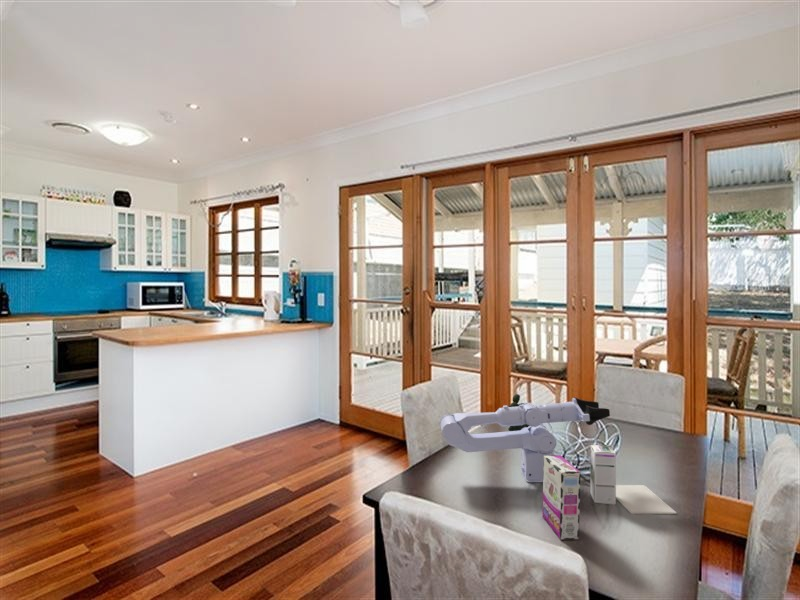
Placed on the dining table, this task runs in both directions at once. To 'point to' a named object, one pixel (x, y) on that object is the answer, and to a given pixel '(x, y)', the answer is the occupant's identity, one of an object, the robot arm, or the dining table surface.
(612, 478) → the syrup box
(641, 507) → the cream white mat
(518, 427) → the dark green lumpy piece
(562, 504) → the candy bar box
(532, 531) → the dining table surface
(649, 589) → the dining table surface
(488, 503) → the dining table surface
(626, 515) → the dining table surface
